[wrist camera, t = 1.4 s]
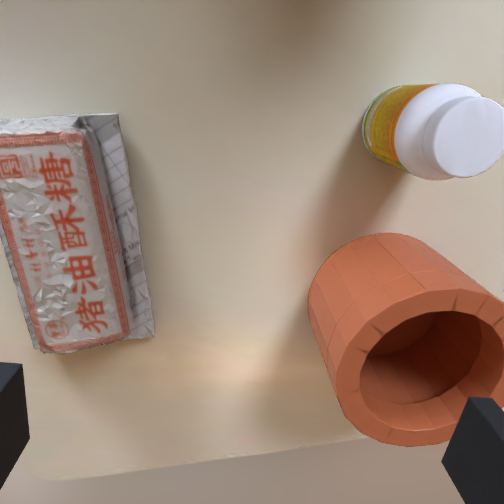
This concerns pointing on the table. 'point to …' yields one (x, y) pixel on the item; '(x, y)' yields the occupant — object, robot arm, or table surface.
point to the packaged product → (72, 231)
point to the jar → (405, 338)
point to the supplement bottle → (435, 130)
